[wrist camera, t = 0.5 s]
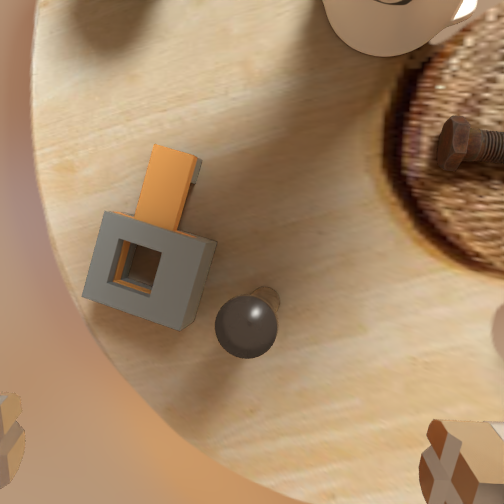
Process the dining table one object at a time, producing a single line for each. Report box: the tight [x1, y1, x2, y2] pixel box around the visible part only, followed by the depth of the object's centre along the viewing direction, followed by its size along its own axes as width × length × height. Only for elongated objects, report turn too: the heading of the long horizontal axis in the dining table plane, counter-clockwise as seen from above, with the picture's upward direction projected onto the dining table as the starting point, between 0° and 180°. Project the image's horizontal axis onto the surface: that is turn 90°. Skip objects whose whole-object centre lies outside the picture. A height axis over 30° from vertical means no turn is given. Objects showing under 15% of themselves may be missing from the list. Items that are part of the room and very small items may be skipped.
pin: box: [215, 287, 280, 359], centre depth 45 cm, size 6×6×14 cm
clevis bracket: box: [82, 144, 217, 331], centre depth 51 cm, size 19×12×6 cm, turn 163°
